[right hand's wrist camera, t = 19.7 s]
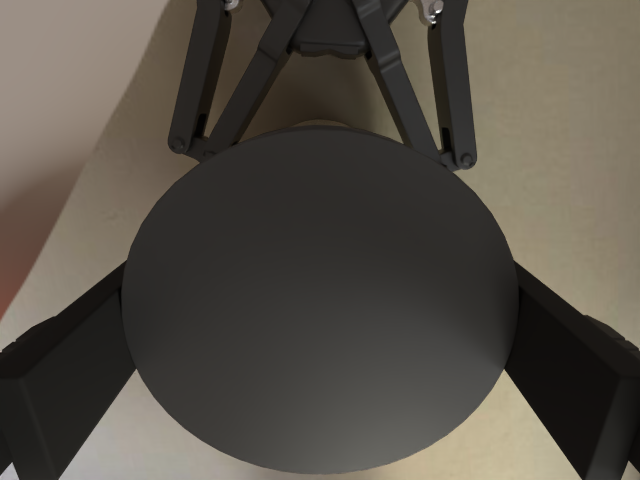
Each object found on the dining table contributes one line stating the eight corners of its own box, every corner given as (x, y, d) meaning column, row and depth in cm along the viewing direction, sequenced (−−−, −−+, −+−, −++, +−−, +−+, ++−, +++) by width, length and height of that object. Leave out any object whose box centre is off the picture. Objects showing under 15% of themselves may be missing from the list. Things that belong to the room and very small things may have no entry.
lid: (388, 41, 10) (405, 24, 8) (537, 343, 13) (575, 385, 11) (80, 247, 12) (31, 275, 10) (275, 464, 15) (269, 517, 13)
